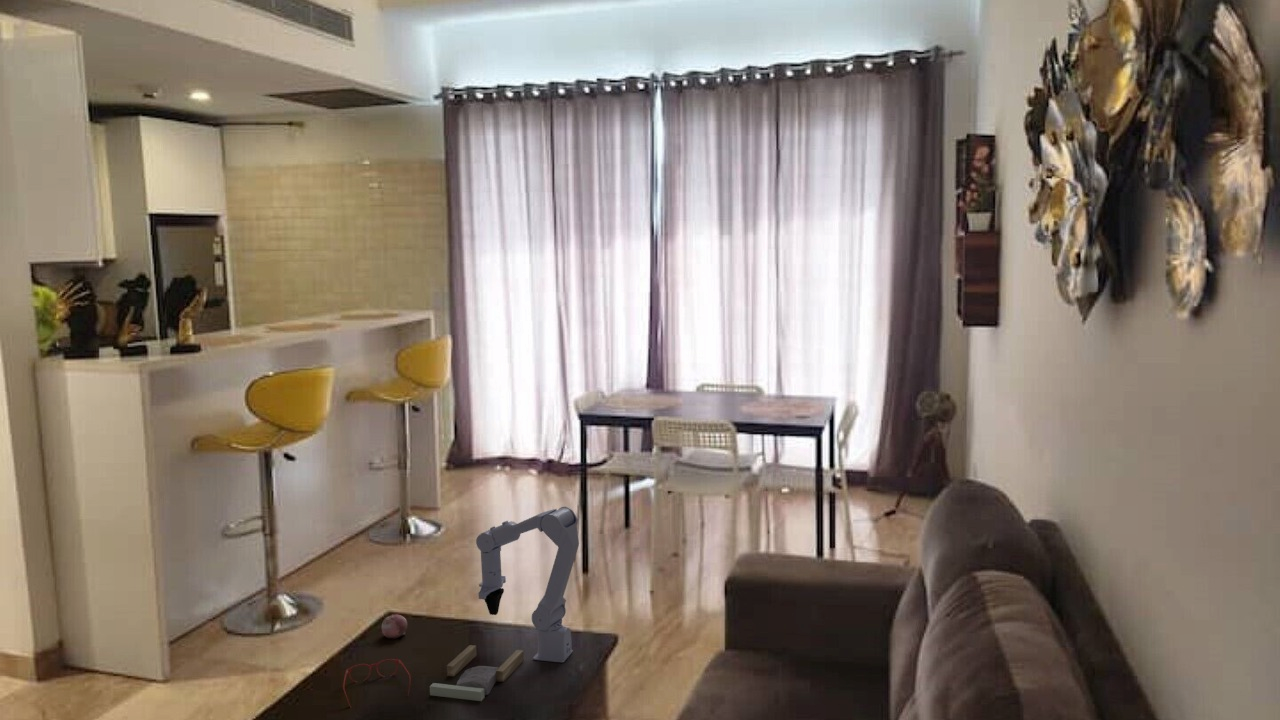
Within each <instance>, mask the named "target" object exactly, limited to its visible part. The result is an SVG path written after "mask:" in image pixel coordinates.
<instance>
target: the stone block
mask: <svg viewBox="0 0 1280 720" xmlns="http://www.w3.org/2000/svg"><path fill="white" fill-rule="evenodd" d="M498 668H499V667H498V666H496V667H495V666H489V665H488V666H487V665H477V666H474V667H472V666H471V667H470V668H467V669H466V670H464V672H462V674H461V675H460V677H459V679H458V680H457V682H456V684H455V685H456V686H465V687H474V688H483V689H484V695H485V696H487V695H489V694H490V693H491V691H492V689H493V688H494V686H495V684H496V682H497V679H496V670H497V669H498Z"/></svg>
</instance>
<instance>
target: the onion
mask: <svg viewBox="0 0 1280 720" xmlns="http://www.w3.org/2000/svg"><path fill="white" fill-rule="evenodd" d="M407 628H408V620H407V619H406V618H405V616H403V615H401V614H391V615H389V616H387V617H385V618H384V620H383V621H382V623H381V632H382V634H383V636H385V638H387V639H390V640H392V641H393V640H396V639H397V638H400V637H403V636H404V635H405V634H406V630H407Z"/></svg>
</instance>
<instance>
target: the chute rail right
mask: <svg viewBox="0 0 1280 720" xmlns="http://www.w3.org/2000/svg"><path fill="white" fill-rule="evenodd" d="M524 658H525V656H524V650H523V649H516V650H515V651H514V652H513V653H512V654H511V655H510V656H509V657H508V658H507V659H506V660H505V661H504V662H503V663H502V664H501V665H500V666H499V667H498V669H497V670H496V679H497V680H496V682H500V683H501V682H502V683H504V682H505V681H506V680H507V679H508V677H509V676H510V675H511V674H512V673H513V672H514V671H515V670H516V669H517V668H518V667H519V666H520V665H521V664H522V663H523V662H524V660H525V659H524Z"/></svg>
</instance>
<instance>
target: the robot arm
mask: <svg viewBox="0 0 1280 720" xmlns="http://www.w3.org/2000/svg"><path fill="white" fill-rule="evenodd" d="M578 521H579V519H578V517H577V515H576V514H575V512H574V510H573V509H572V508H570V507H568V506H561V507H559V508H554V509H550V510H547V511H543V512H541V513H538V514H537V515H533V516H531V517H529V518H528V519H527V518H526V519H525V520H523V521H519V522H518V523H517V522H515V521H512V520H511V521H509V520H506V521H505V520H504V521H503V522H502V523H501V525H498V526H495V525H494V526H491V527H490V529H488V530H485V531H484V532H481V533H480V534H478V535H477V537H476V540H475V543H476V548H478V550H479V551H480V564H481V579H482V580H481V582H480V583H478V586H479V587H480V590H479V591H478V593H477V594H478V595H477V596H478V599H479V600H484V602H485V604H486V607H487V610H488V613H489V615H492V616H497V615H498V614H499V609H500V604H501V599H502V597H503V594H504V593H505V589H504V588H503V586H504V584H505V583H506V582H507V580H506V579H507V578H506V576H505V575H502V563H501V562H502V561H501V557H502V556H501V551H502V547H503V546H505V545H508V544H510V543H513V542H515V541H518V540H519V539H520V536H521V534H524V533H527V532H530V531H533V530H535V529H537V530H538V531H539V532H541V533H542V532H543V533H544V534H545V535H546V536H547V537H548V538H549V539H550V540H551V541H552V543H554V544H555V545H556V546H557V551H556V555H555V559H554V562H553V565H552V569H551V572H550V575H549V578H548V582H547V586H546V589H545V593H544V595H543V597H542V598H541V599H540V601H539V603H538V604H537V607H536V609H535V610H534V611H533V612H532V614H531V622H532V624H533V626H534V627H535V629H536V638H537V653H536V654H535V655H534V656H533V657H532V659H533V661H534V660H535V661H544V662H553V663H564V662H566V660H567V659H568V658H569V657H570V656H571V654H573V651H574V650H573V649H572V632H571V629H570V627H568V626H564V625H563V624H562V623H563V618H564V617H565V616H566V611H567V609H566V602H567V599H566V598H565V597H564V596H565V592H566V589H567V585H568V582H569V579H570V577H571V576H570V575H571V572H572V569H573V566H574V562H575V559H576V556H577V553H578V549H579V544H580V541H579V532H578V523H579V522H578Z"/></svg>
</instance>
